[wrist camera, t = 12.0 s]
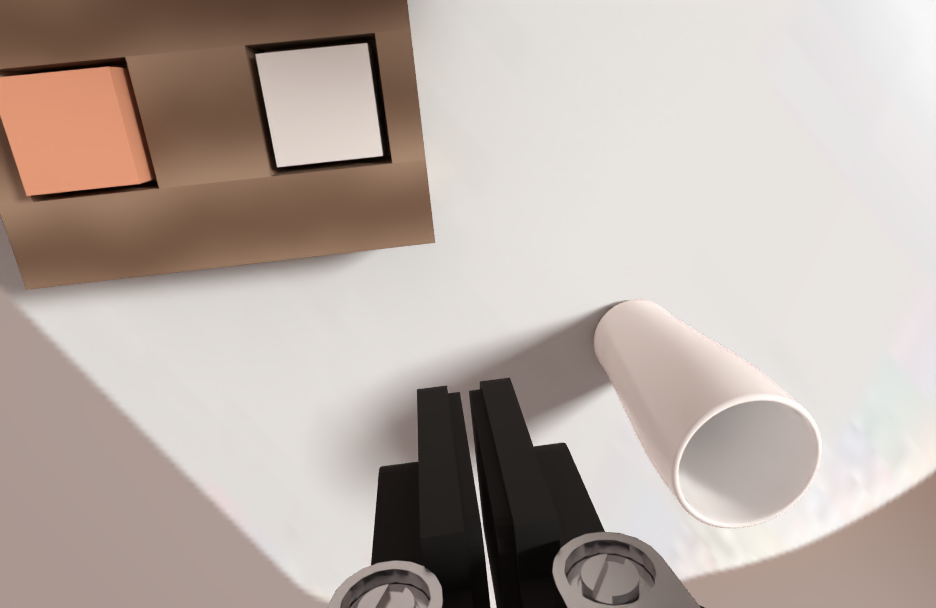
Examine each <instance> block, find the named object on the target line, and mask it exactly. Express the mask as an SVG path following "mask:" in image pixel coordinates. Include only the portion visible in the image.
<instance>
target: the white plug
mask: <svg viewBox="0 0 936 608" xmlns="http://www.w3.org/2000/svg"><path fill="white" fill-rule="evenodd" d="M255 55H256V61H257V66H258V71H259V76H260V81H261V86H262V92H263V97H264V102H265V107H266V112H267V117H268V123H269V128H270V133H271V138H272V143H273V148H274V154H275V159H276V164H277V167H284V166H293V165H302V164H312V163H321V162H330V161H340V160H349V159H358V158H368V157H377V156H383V154H384V152H385V150H386V145H385V138H384V131H383V123H382V116H381V109H380V101H379V94H378V87H377V79H376V72H375V64H374V57H373V50H372V48H371V47H370V46H369V44H368V43H362V44H352V45H341V46H331V47H321V48H311V49H301V50H290V51H280V52H270V53H260V54H255Z"/></svg>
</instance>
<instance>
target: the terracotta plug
mask: <svg viewBox="0 0 936 608" xmlns="http://www.w3.org/2000/svg"><path fill="white" fill-rule="evenodd" d="M0 116H1V119H2V122H3V125H4V128H5V131H6V134H7V137H8V140H9V143H10V146H11V150H12V153H13V156H14V159H15V162H16V165H17V168H18V171H19V174H20V177H21V180H22V183H23V186H24V189H25V192H26V195H27V196H31V195H40V194H50V193H59V192H68V191H78V190H87V189H96V188H106V187H115V186H124V185H134V184H141V183H144V182H147V181H150V180H152V179H155V178H156V174H155V170H154V166H153V163H152V159H151V155H150V151H149V147H148V143H147V139H146V135H145V132H144V128H143V124H142V120H141V116H140V112H139V108H138V104H137V100H136V97H135V93H134V89H133V85H132V81H131V77H130V73H129V69H128V68H120V67H99V68H89V69H79V70H69V71H58V72H48V73H38V74H28V75H18V76H7V77H0Z"/></svg>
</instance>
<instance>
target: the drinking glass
mask: <svg viewBox="0 0 936 608" xmlns="http://www.w3.org/2000/svg"><path fill="white" fill-rule="evenodd" d="M594 350H595V353H596V356H597V358H598V360H599V362H600V364H601V365H602V367H603V368H604V369H605V371H606V373H607V375H608V377H609V379H610V381H611V383H612V385H613V387H614V389H615V391H616V393H617V395H618V398H619V400H620V402H621V404H622V406H623V408H624V410H625V412H626V415H627V417H628V419H629V421H630V423H631V425H632V427H633V430H634V432H635V434H636V436H637V438H638V440H639V442H640V444H641V446H642V448H643V449H644V451H645V453H646V455H647V457H648V458H649V460H650V462H651V463H652V465H653V467H654V468H655V470H656V471H657V473H658V474H659V476H660V477H661V478H662V480H663V481H664V483H665V484H666V485H667V487H668V488H669V490H670V491H671V492H672V494H673V495H674V496H675V498H676V499H677V500H678V502H679V503H680V504H681V506H682V507H683V508H684V509H685V510H686V511H687V512H688V513H689V514H690V515H691V516H693V517H694V518H696V519H698V520H699V521H701V522H703V523H706V524H708V525H712V526H715V527H721V528H744V527H750V526H754V525H758V524H761V523H764V522H766V521H768V520H771V519H773V518H775V517H777V516H778V515H780V514H782V513H783V512H785V511H786V510H787V509H789V508H790V507H791V506H792V505H794V504H795V503H796V502H797V501H798V500H799V499H800V498H801V497H802V496H803V494H804V493H805V492H806V491H807V489H808V488H809V486H810V485H811V483H812V482H813V480H814V478H815V476H816V473H817V471H818V468H819V465H820V460H821V454H822V442H821V436H820V433H819V429H818V427H817V425H816V423H815V421H814V419H813V418H812V417H811V415H810V414H809V413H808V412H807V411H806V410H805V409H804V408H803V407H802V406H801V405H800V404H799V403H798V402H797V401H796V400H794V399H793V398H792V397H791V396H790V395H789V394H788V393H787V392H786V391H785V390H784V389H782V388H781V387H780V386H779V385H778V384H777V383H775V382H774V381H773V380H772V379H770V378H769V377H768V376H767V375H765V374H764V373H763V372H762V371H760V370H759V369H757V368H756V367H755V366H753V365H752V364H750V363H749V362H747V361H746V360H744V359H743V358H741V357H740V356H738V355H736V354H735V353H733V352H732V351H730V350H728V349H727V348H725V347H723V346H722V345H720V344H718V343H717V342H715V341H713V340H712V339H710V338H708V337H707V336H705V335H703V334H702V333H700V332H699V331H697V330H695V329H694V328H692V327H690V326H689V325H687V324H686V323H684V322H682V321H681V320H679V319H678V318H676V317H674V316H673V315H672V314H670V313H669V312H668V311H667V310H666V309H664V308H663V307H662V306H660V305H659V304H657V303H655V302H652V301H648V300H643V299H634V300H628V301H625V302H622V303H620V304H618V305H616V306H614V307H613V308H611V309H610V310H609V311H608V312H607V313H606V314H605V315H604V316H603V317H602V318H601V320H600V322H599V323H598V325H597V328H596V330H595V334H594Z"/></svg>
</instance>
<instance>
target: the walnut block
mask: <svg viewBox="0 0 936 608" xmlns="http://www.w3.org/2000/svg"><path fill="white" fill-rule="evenodd" d="M362 43H368V44H369V46H370V47H371V48H372V50H373V57H374V64H375V72H376V79H377V87H378V94H379V101H380V109H381V116H382V123H383V131H384V138H385V145H386V150H385V152H384V154H383V156H377V157H368V158H358V159H349V160H340V161H330V162H321V163H312V164H302V165H293V166H284V167H277V164H276V159H275V154H274V148H273V143H272V138H271V133H270V128H269V123H268V117H267V112H266V107H265V102H264V97H263V92H262V86H261V81H260V76H259V71H258V66H257V61H256V55H255V54H260V53H270V52H280V51H290V50H301V49H311V48H321V47H331V46H341V45H352V44H362ZM99 67H120V68H128V69H129V73H130V77H131V81H132V85H133V89H134V93H135V97H136V100H137V104H138V108H139V112H140V116H141V120H142V124H143V128H144V132H145V135H146V139H147V143H148V147H149V151H150V155H151V159H152V163H153V166H154V170H155V174H156V178H155V179H152V180H150V181H147V182H144V183H141V184H134V185H124V186H115V187H106V188H96V189H87V190H78V191H68V192H59V193H50V194H40V195H31V196H27V195H26V192H25V189H24V186H23V183H22V180H21V177H20V174H19V171H18V168H17V165H16V162H15V159H14V156H13V153H12V150H11V146H10V143H9V140H8V137H7V134H6V131H5V128H4V125H3V122H2V119H1V116H0V215H1V218H2V221H3V223H4V226H5V229H6V232H7V235H8V238H9V241H10V244H11V247H12V250H13V252H14V255H15V258H16V261H17V264H18V267H19V270H20V273H21V276H22V278H23V281H24V284H25V287H26V289H35V288H44V287H52V286H61V285H70V284H79V283H87V282H96V281H105V280H114V279H122V278H131V277H140V276H149V275H157V274H166V273H175V272H184V271H192V270H201V269H210V268H219V267H227V266H236V265H245V264H253V263H262V262H271V261H280V260H288V259H297V258H306V257H315V256H323V255H332V254H341V253H350V252H358V251H367V250H376V249H385V248H393V247H402V246H411V245H420V244H428V243H435V237H434V229H433V220H432V211H431V203H430V194H429V186H428V177H427V168H426V160H425V151H424V143H423V134H422V126H421V117H420V108H419V100H418V91H417V83H416V74H415V65H414V57H413V48H412V40H411V31H410V22H409V14H408V5H407V0H0V77H7V76H18V75H28V74H38V73H48V72H58V71H69V70H79V69H89V68H99Z"/></svg>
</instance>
